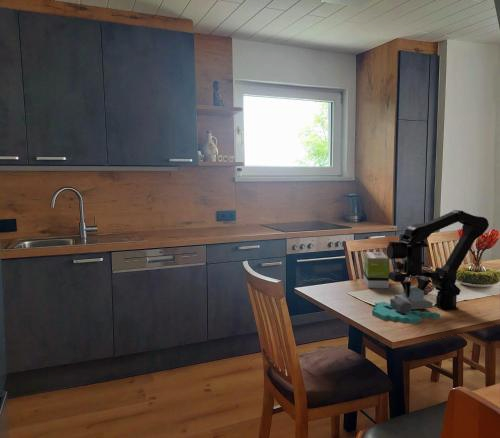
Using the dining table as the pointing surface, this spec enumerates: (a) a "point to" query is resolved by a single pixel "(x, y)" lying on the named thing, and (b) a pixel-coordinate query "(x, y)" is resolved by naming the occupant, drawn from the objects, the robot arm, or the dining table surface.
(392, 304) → the graphite chip
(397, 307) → the graphite chip
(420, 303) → the sanding block
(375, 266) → the tea box
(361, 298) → the dining table surface
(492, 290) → the dining table surface
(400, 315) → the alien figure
